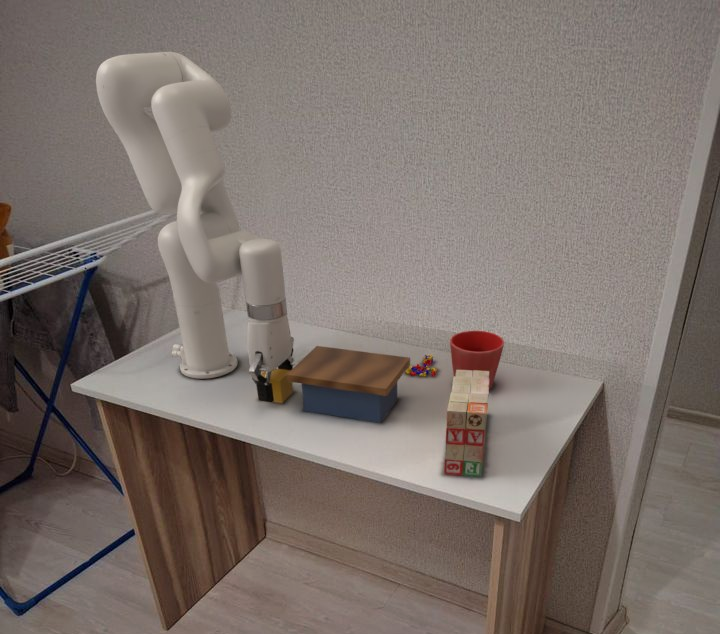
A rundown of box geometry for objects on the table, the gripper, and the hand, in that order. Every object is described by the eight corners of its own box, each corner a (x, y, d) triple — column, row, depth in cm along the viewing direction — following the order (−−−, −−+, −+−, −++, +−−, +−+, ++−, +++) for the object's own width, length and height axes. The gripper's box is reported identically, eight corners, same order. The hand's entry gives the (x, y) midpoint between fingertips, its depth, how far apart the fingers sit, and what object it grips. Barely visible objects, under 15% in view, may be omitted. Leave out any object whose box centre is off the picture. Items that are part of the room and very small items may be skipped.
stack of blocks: (453, 413, 130) (457, 353, 123) (486, 415, 129) (492, 355, 122) (443, 474, 113) (446, 409, 106) (481, 477, 111) (487, 412, 104)
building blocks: (402, 374, 144) (402, 367, 144) (416, 359, 150) (417, 352, 149) (431, 379, 142) (431, 372, 141) (444, 364, 148) (444, 357, 147)
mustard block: (260, 399, 137) (257, 377, 134) (271, 389, 141) (269, 367, 138) (282, 403, 135) (279, 380, 133) (293, 392, 139) (291, 370, 136)
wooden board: (286, 381, 128) (286, 374, 127) (317, 352, 138) (316, 345, 137) (386, 396, 121) (386, 388, 120) (410, 364, 132) (410, 357, 131)
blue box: (304, 410, 133) (301, 378, 129) (324, 388, 140) (322, 357, 136) (380, 423, 127) (379, 390, 124) (397, 399, 135) (397, 367, 131)
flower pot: (510, 381, 140) (514, 337, 134) (482, 401, 133) (486, 356, 128) (466, 368, 146) (468, 325, 140) (437, 387, 139) (439, 343, 133)
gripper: (270, 292, 135) (279, 371, 145) (226, 323, 122) (239, 407, 132) (304, 295, 133) (311, 375, 143) (262, 327, 120) (273, 413, 129)
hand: (276, 390), depth 137 cm, fingers open, 8 cm apart
